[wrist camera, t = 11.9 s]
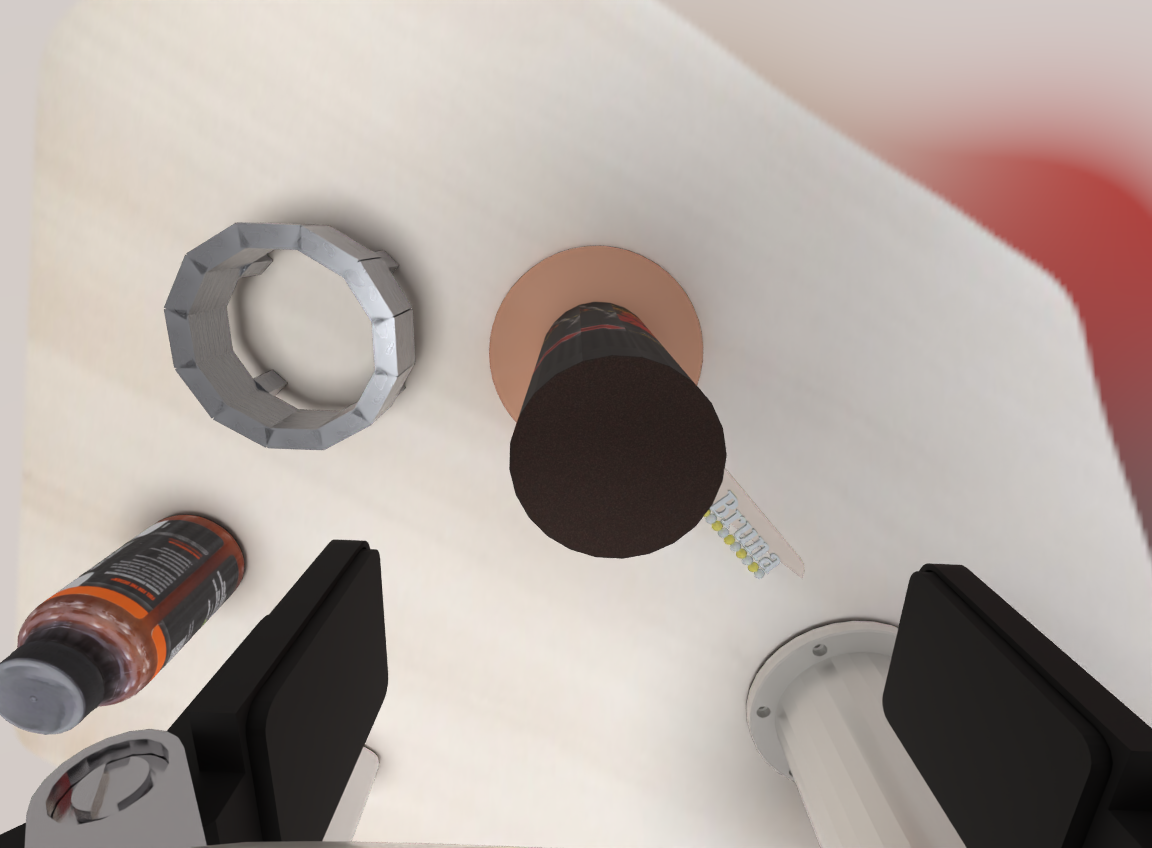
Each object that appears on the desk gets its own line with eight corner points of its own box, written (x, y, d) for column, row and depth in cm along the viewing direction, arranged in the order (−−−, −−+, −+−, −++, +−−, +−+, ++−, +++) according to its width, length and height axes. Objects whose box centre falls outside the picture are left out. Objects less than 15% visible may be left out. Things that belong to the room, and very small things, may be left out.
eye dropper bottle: (349, 795, 41) (261, 1012, 30) (285, 748, 40) (167, 955, 29) (391, 762, 40) (317, 973, 29) (327, 713, 39) (223, 913, 28)
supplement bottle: (138, 508, 34) (-62, 635, 24) (242, 511, 35) (88, 640, 24) (157, 597, 36) (-21, 752, 26) (255, 600, 36) (119, 756, 26)
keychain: (666, 483, 33) (710, 451, 33) (665, 479, 34) (708, 447, 33) (774, 605, 36) (816, 577, 35) (771, 599, 37) (812, 571, 36)
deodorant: (523, 324, 30) (476, 397, 16) (636, 284, 30) (692, 323, 15) (562, 430, 32) (552, 583, 17) (669, 394, 31) (750, 523, 17)
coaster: (710, 249, 30) (714, 250, 29) (689, 455, 33) (692, 460, 32) (490, 241, 30) (488, 241, 29) (492, 448, 33) (490, 453, 32)
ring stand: (419, 228, 30) (388, 228, 25) (428, 420, 33) (402, 453, 28) (217, 220, 29) (147, 219, 25) (245, 413, 33) (187, 445, 28)
